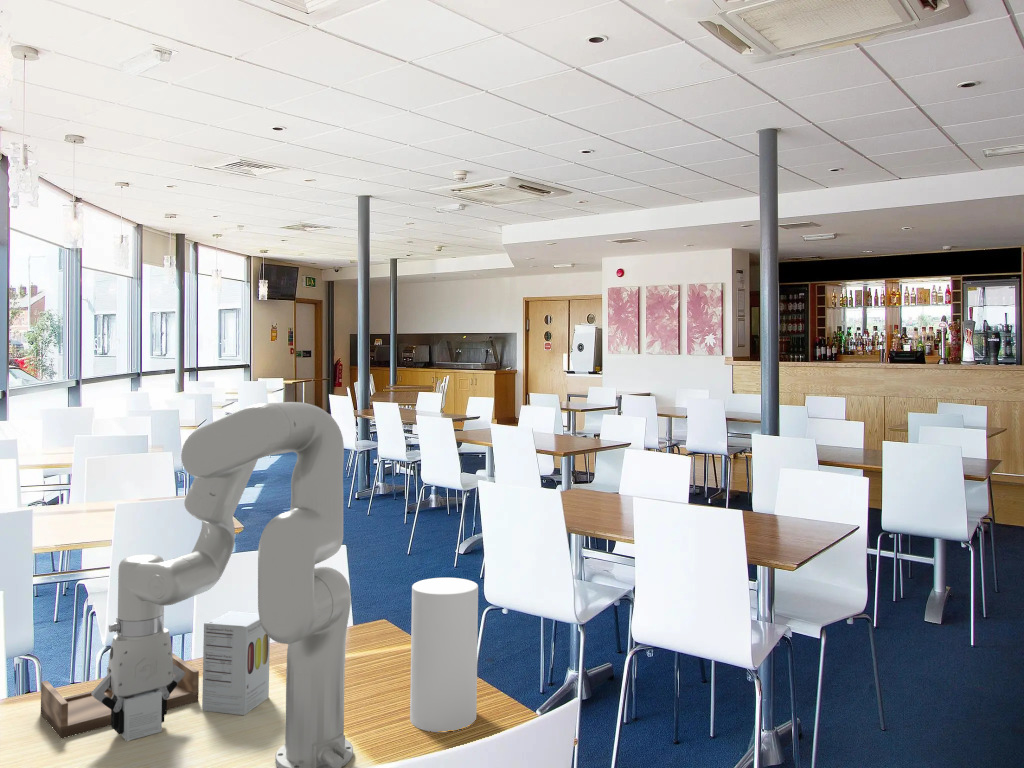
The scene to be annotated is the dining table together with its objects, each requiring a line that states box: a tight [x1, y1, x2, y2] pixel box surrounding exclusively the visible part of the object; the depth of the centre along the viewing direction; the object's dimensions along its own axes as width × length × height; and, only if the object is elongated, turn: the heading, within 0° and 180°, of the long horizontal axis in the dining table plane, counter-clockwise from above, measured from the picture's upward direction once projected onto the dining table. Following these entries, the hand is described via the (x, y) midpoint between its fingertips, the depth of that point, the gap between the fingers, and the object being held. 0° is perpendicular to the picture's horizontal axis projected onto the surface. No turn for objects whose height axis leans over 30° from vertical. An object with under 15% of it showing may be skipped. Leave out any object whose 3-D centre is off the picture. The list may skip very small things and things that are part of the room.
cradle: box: [40, 652, 200, 739], centre depth 149 cm, size 14×24×6 cm, turn 134°
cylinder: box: [409, 577, 479, 733], centre depth 146 cm, size 12×12×25 cm
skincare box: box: [120, 689, 163, 742], centre depth 139 cm, size 6×6×7 cm
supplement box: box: [201, 610, 271, 716], centre depth 151 cm, size 10×9×17 cm
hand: (139, 724), depth 139 cm, fingers closed on skincare box, 6 cm apart
